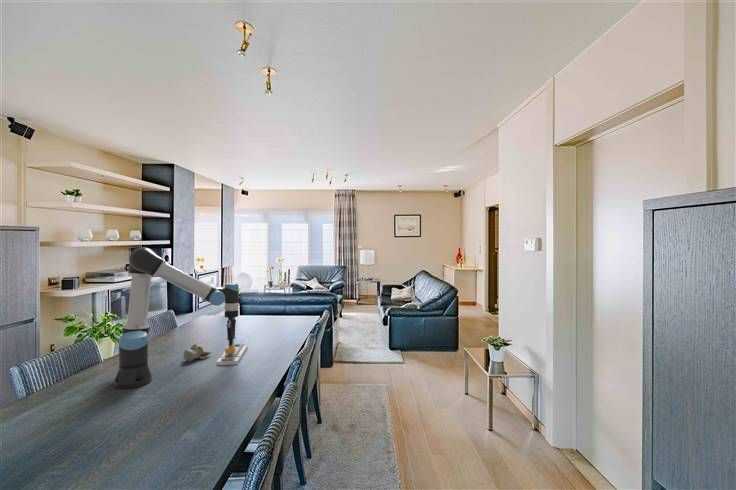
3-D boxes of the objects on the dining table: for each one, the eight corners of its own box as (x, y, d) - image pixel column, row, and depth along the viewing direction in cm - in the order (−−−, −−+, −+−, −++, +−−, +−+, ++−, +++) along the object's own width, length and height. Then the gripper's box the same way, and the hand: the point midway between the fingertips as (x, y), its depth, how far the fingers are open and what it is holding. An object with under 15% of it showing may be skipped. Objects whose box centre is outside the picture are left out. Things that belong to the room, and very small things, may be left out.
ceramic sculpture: (178, 346, 198) (198, 340, 212) (176, 361, 198) (197, 355, 212) (192, 348, 195) (212, 342, 209) (191, 364, 194) (211, 357, 208)
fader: (234, 356, 200) (234, 348, 200) (225, 357, 200) (225, 348, 200) (235, 355, 203) (235, 346, 203) (226, 355, 203) (226, 346, 203)
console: (237, 364, 194) (237, 358, 194) (216, 365, 193) (216, 359, 193) (247, 348, 224) (247, 343, 224) (229, 348, 222) (229, 343, 222)
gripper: (235, 312, 198) (235, 353, 198) (240, 307, 211) (240, 346, 211) (221, 312, 197) (221, 354, 197) (227, 307, 209) (227, 347, 210)
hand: (231, 350), depth 204 cm, fingers closed
